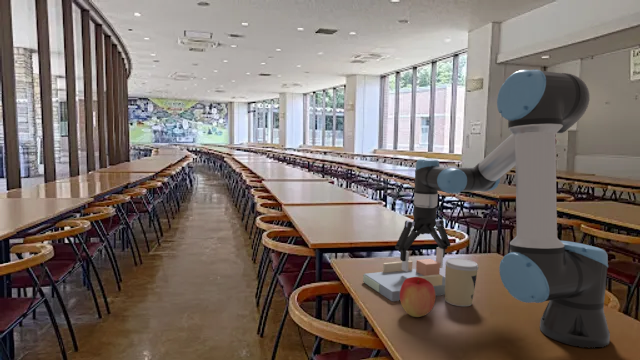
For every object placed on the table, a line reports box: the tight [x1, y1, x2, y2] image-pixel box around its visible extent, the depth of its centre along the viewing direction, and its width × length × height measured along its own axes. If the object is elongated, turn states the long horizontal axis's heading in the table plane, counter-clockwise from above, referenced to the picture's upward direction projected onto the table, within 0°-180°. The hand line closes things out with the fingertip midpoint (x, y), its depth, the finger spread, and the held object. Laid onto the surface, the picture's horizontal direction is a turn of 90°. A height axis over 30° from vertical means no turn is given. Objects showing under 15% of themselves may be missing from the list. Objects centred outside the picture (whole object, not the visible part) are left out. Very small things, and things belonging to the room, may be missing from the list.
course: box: [362, 260, 445, 302], centre depth 143 cm, size 18×24×6 cm
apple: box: [400, 277, 436, 318], centre depth 120 cm, size 10×10×10 cm
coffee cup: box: [444, 257, 479, 307], centre depth 131 cm, size 9×9×12 cm
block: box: [415, 258, 441, 276], centre depth 149 cm, size 6×6×4 cm
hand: (422, 268), depth 149 cm, fingers open, 13 cm apart
